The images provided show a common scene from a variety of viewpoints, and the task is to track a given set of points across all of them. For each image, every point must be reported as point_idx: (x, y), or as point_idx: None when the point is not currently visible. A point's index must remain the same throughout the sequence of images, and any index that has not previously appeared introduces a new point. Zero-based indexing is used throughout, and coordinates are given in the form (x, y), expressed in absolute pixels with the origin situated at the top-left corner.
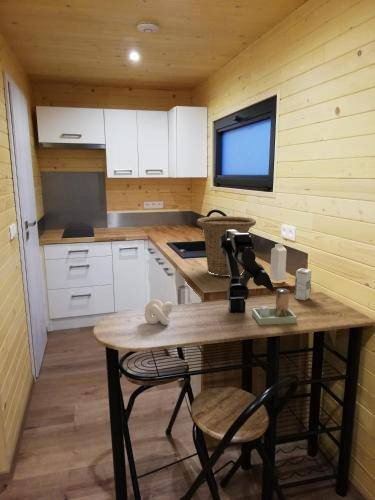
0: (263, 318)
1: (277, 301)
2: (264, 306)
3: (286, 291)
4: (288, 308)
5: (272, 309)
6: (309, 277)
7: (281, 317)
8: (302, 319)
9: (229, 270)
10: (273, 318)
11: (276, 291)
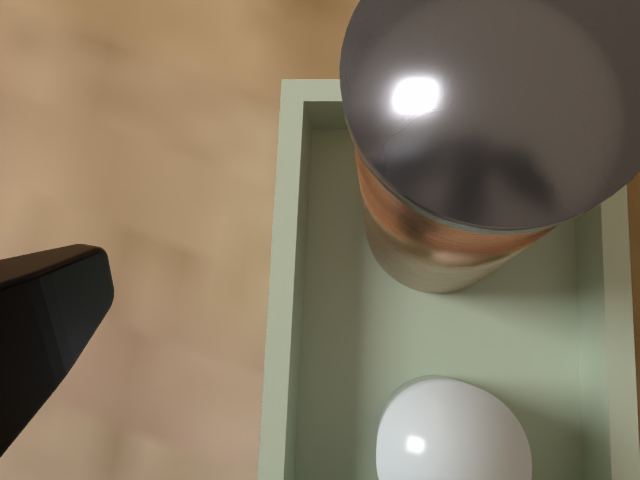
0: None
1: (508, 255)
2: (402, 448)
3: (587, 6)
4: (326, 79)
5: (296, 279)
6: None
7: (625, 274)
8: None
9: None
10: (632, 387)
11: (498, 231)
